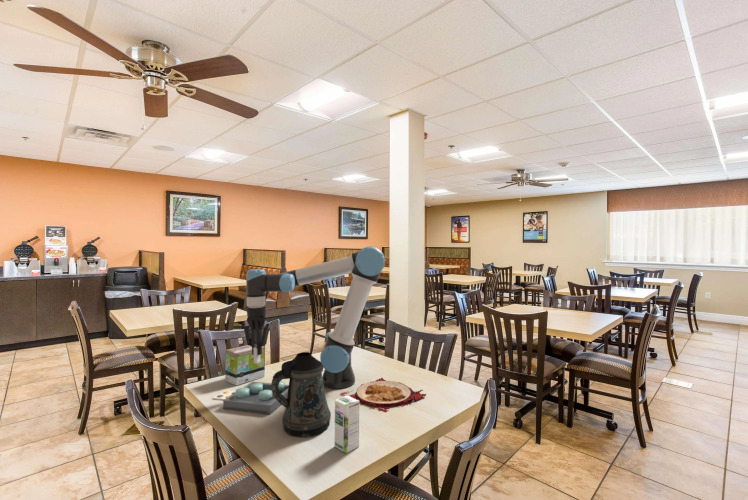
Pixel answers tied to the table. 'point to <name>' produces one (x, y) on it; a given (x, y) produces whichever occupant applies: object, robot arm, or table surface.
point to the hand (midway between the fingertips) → (257, 362)
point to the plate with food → (385, 394)
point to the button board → (254, 401)
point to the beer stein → (303, 396)
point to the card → (224, 395)
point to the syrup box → (346, 424)
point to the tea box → (243, 365)
